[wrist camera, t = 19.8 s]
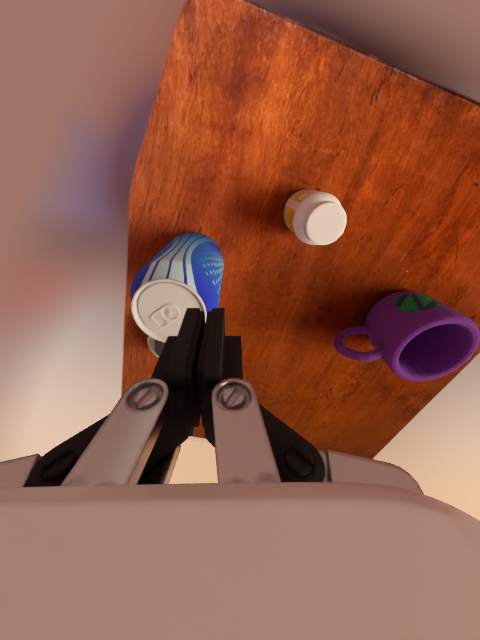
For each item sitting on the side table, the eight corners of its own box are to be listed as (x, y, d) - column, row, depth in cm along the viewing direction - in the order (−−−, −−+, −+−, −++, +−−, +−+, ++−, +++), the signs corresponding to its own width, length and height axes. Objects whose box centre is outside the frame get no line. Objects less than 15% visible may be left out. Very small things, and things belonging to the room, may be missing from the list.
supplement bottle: (299, 180, 29) (324, 180, 21) (331, 204, 30) (366, 213, 22) (274, 220, 31) (288, 234, 23) (305, 240, 33) (329, 261, 24)
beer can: (164, 227, 31) (110, 264, 18) (225, 232, 32) (218, 272, 18) (169, 284, 36) (128, 349, 22) (223, 288, 36) (215, 353, 23)
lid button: (159, 352, 38) (156, 360, 37) (155, 333, 36) (151, 340, 35) (183, 352, 38) (181, 359, 37) (180, 333, 36) (178, 339, 35)
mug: (434, 278, 36) (495, 308, 27) (421, 335, 42) (469, 375, 33) (322, 301, 38) (347, 337, 29) (325, 353, 44) (347, 395, 35)
